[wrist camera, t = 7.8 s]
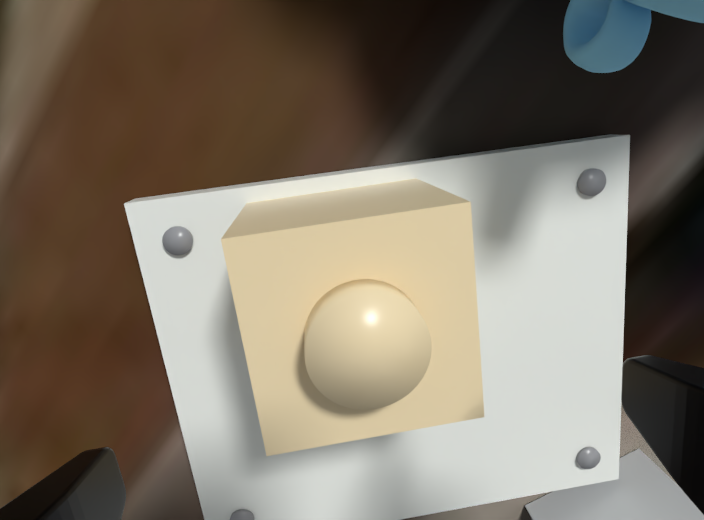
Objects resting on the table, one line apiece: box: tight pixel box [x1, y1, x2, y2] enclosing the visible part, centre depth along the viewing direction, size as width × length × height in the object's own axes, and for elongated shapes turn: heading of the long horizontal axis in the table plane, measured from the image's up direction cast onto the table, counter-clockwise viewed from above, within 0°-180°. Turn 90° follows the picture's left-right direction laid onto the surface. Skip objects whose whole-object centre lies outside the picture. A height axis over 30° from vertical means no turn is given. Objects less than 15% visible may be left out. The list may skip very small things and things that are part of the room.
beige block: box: [221, 178, 484, 456], centre depth 15 cm, size 6×6×7 cm
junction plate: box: [124, 134, 630, 520], centre depth 18 cm, size 15×18×5 cm
